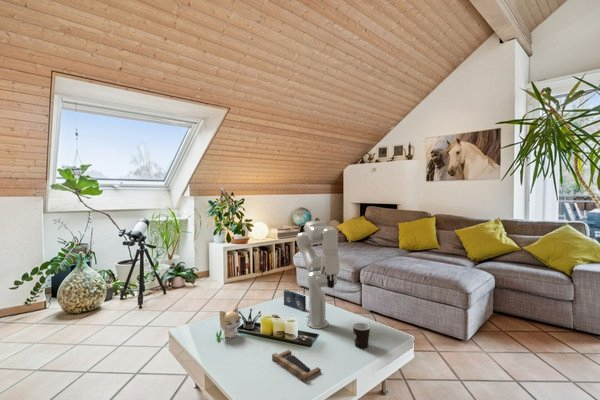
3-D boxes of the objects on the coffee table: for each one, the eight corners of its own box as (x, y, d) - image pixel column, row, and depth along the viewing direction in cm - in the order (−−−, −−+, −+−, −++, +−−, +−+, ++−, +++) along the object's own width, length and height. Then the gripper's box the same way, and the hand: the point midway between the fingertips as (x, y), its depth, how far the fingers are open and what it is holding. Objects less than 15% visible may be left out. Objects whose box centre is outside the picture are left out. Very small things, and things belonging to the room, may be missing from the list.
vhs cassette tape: (306, 310, 204) (305, 295, 203) (302, 311, 202) (302, 296, 201) (286, 303, 216) (286, 289, 216) (283, 304, 214) (283, 290, 214)
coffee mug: (370, 350, 152) (370, 330, 152) (352, 349, 154) (352, 329, 154) (369, 339, 164) (369, 320, 163) (353, 338, 165) (353, 319, 165)
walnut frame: (272, 360, 144) (272, 354, 144) (288, 352, 151) (288, 346, 151) (303, 382, 128) (303, 374, 128) (320, 372, 135) (320, 365, 134)
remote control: (284, 361, 145) (302, 376, 132) (284, 358, 145) (302, 372, 132) (293, 358, 148) (311, 372, 135) (293, 354, 148) (311, 368, 135)
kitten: (219, 344, 160) (219, 315, 159) (212, 336, 168) (212, 309, 168) (246, 336, 169) (245, 309, 168) (238, 329, 177) (237, 303, 176)
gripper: (334, 249, 167) (334, 282, 168) (315, 253, 157) (315, 288, 158) (345, 251, 162) (345, 285, 162) (325, 255, 152) (326, 292, 152)
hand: (330, 287), depth 160 cm, fingers closed
